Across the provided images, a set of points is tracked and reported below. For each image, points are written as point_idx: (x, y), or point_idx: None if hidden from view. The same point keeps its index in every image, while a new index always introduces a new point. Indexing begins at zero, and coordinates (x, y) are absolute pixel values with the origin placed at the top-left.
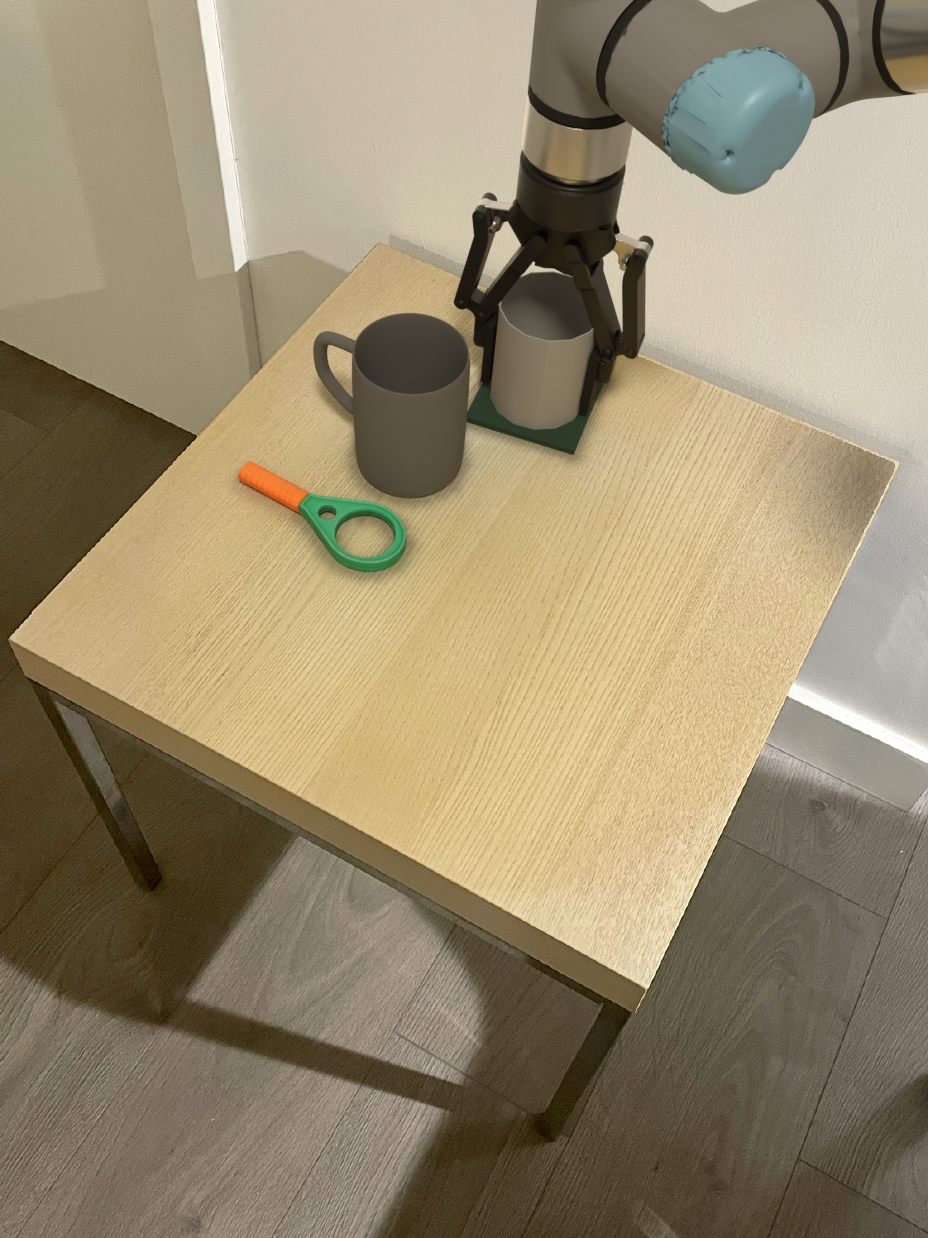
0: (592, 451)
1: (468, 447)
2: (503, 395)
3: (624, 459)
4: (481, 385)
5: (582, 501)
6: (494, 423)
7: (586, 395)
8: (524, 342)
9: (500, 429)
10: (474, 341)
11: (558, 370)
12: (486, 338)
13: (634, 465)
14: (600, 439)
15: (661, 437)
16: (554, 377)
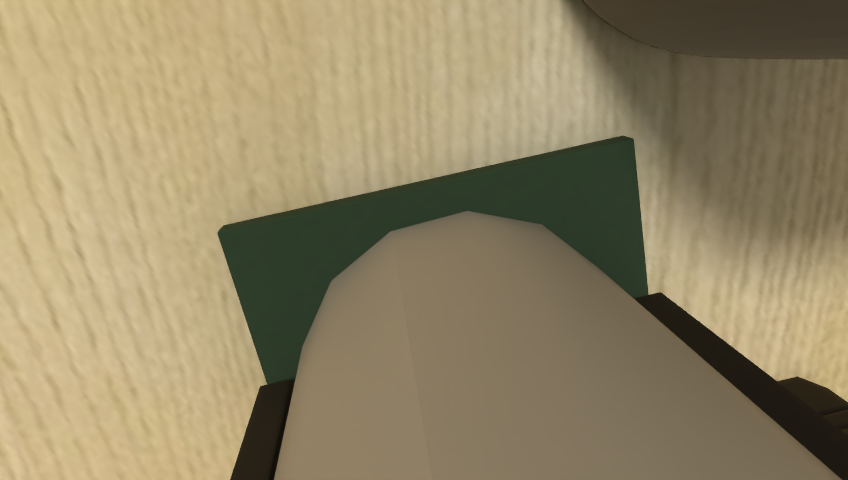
0: (179, 279)
1: (554, 34)
2: (556, 251)
3: (68, 312)
4: (645, 295)
5: (57, 48)
6: (526, 172)
7: (261, 437)
8: (652, 471)
9: (495, 167)
10: (816, 386)
11: (340, 439)
12: (805, 413)
13: (23, 310)
14: (190, 339)
15: (34, 460)
16: (355, 395)
